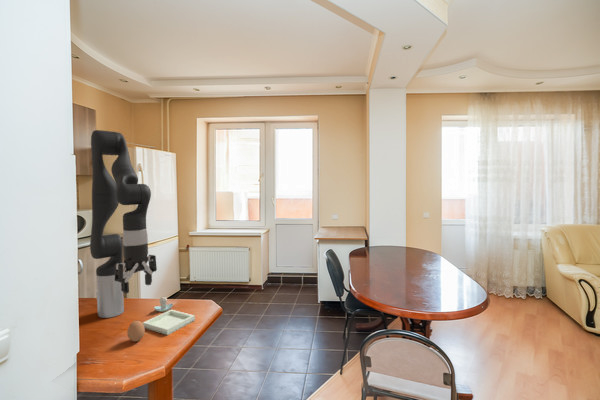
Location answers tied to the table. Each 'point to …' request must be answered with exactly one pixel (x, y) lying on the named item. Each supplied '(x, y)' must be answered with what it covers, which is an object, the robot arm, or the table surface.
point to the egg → (136, 331)
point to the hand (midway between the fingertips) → (137, 288)
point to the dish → (169, 322)
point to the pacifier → (163, 305)
